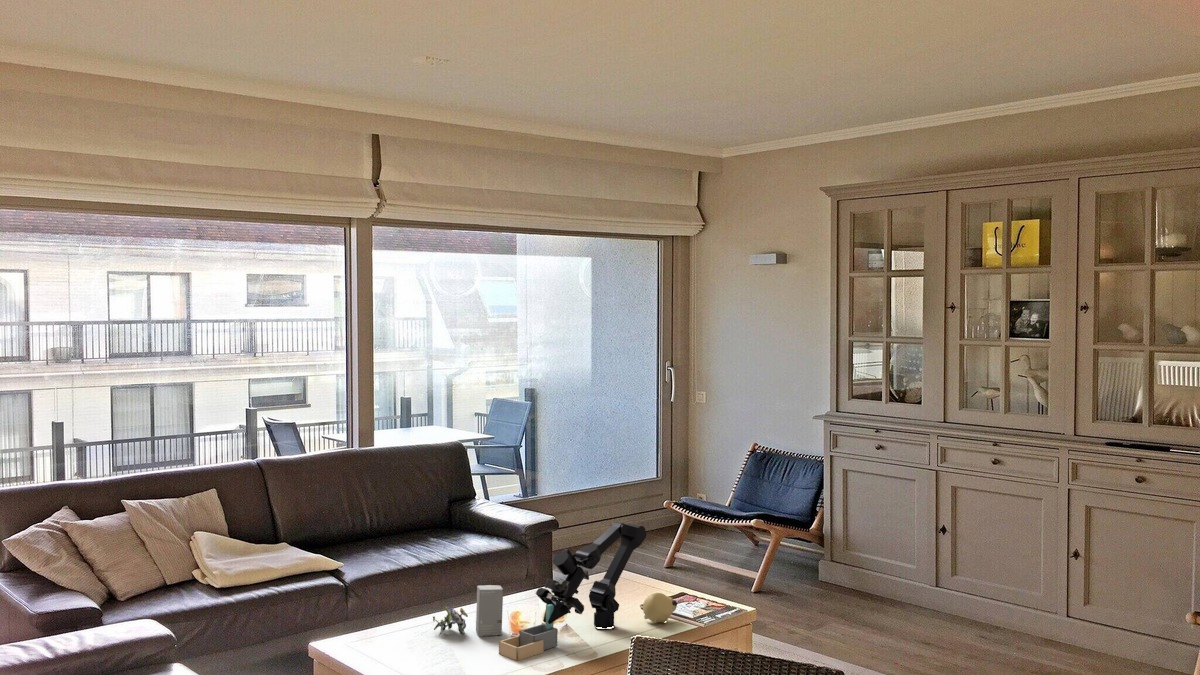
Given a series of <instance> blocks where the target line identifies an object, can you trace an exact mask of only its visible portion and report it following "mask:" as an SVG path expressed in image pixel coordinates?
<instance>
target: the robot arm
mask: <svg viewBox="0 0 1200 675" xmlns="http://www.w3.org/2000/svg"><path fill="white" fill-rule="evenodd" d="M646 537H647V531H646V528H645V526H643V525H640V524H635V523H623V522H619V521H615V522H612V524H611V526H609V527H608V528H607V530H605V531H603V533H602V534H601V535H600V536H598V537H597V539H596V540H594V541H593V542H591V544H587V545H584V546H582V547H581V548H579V549H578V550H576V551H575V553H572V552H571V551H570V550H569V549H567V548H564V549H563V551H560V552H558V553H557V554H556V555H555V554H554V557H553V558H552V563H553V565H554V566H555V567H556V569H558V570H559V572H560V573H561V574H562V575H563V576H564V577H563V579H561V578H560V579H558V580H555V579H552V578H546V581H545V584H544V587H539V588H538V589H537V590H536V591H535V595H536V596H537V597H538V598H539V599H540V600H541V601H542V603H544V604H546V605H548V604H551V605H554V611H553V613H552V614H551V616H550V618H549V620H548V623H549V624H551V623H552V622H553V623H554V622H555V621H557V620H559V619H561V618H562V617H563V616H566V615H568V614H571V611H572V609H573V608H574V613H575V614H578V615H582V614H583V613H584V611H585V605H584V604H583V603H582V602H581V600H579V598H577V597H574V595H575V594H576V595H578V594H579V590H578V588H579V587H580V585H581V584H582V582H583V580H587V581H589V579H590V576H589V571H588V570H592V569H593V570H594V569H595V567H596V566H597V565H598V564H599V562H600V561H601V558H602V557H601V556H602V555H603V554H604V553H605V552H606V551H607V550H608V549H609V548H611V546H612V545H614V544H615V542H617V540H619V539H620V545H619V547H618V549H617V550H616V553H615V554H614V557H613V559H612V561H611V562H610V564H609V566H608V569H607V570H606V572H605V574H604V576H603V578H602V579H601V580H600V581H598V580H595V581H594V582H593V584H592V587H591V588H590V589H589V593H588V598H589V602H590V606H591V608H592V609H595V612H594V613H593V625H594V627H595V626H596V627H602V628H607V627H612V626H614V627H615V613H616V612H618V611H619V607H620V604H619V603H618V601H617V600H616V599H615V598H616V585H617V583H618V581H619V579H620V578H621V576H622V573H623V571H624V569H625V567H627V566H626V565H627V563H628V562H629V560H630V558H631V555H632V553H633V552H634V550H637V549H638V548H639V547H640V546H641V545H642V544H643V543H644V541H645V540H646ZM584 569H588V570H584ZM549 589H550V590H549ZM546 605H545V606H546ZM542 621H543V622H544V623H546V609H545V612H544V615H543V620H542ZM596 627H595V628H596Z"/></svg>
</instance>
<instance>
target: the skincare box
mask: <svg viewBox="0 0 1200 675" xmlns="http://www.w3.org/2000/svg"><path fill="white" fill-rule="evenodd" d="M503 602H504V588H503V587H502V586H501V584H500V585H499V584H498V585H497V584H496V585H492V584H487V585H477V586H476V610H475V611H476V612H475V613H476V614H475V616H476V617H475V618H476V619H475V632H476V633H477V635H478V638H479V637H481V638H482V637H491V636H501V635H502V632H503V631H502V630H503V628H502V627H503V609H504V608H503V605H504V603H503Z"/></svg>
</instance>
